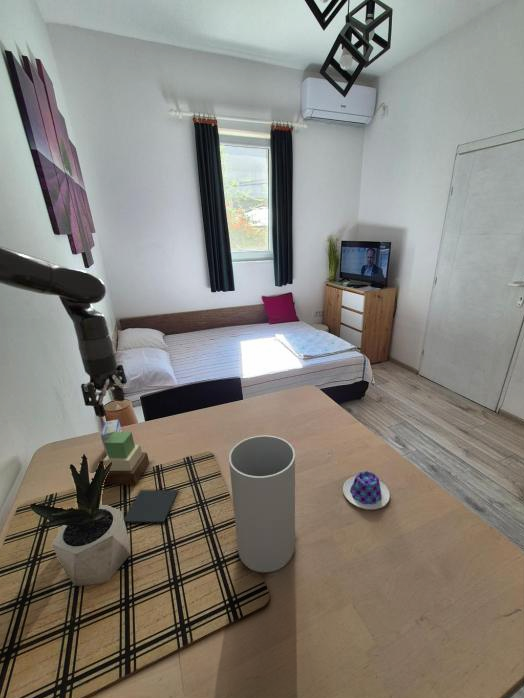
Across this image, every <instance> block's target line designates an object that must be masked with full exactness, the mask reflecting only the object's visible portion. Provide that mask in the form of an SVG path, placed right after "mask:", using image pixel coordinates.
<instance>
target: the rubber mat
mask: <svg viewBox="0 0 524 698" xmlns="http://www.w3.org/2000/svg"><path fill="white" fill-rule="evenodd" d="M178 493H179V491H178V490H154V489H153V490H152V489H151V490H150V489H149V490H146V489H145V490H142V489H140V491H139V492H138V494H137V496H136V498H135V499H134V501H133V503H131V506H130V507H129V509H128V511H127V513H126V515H125V517H124V518H123V520H125V523H127V524H128V523H129V524H131V523H132V524H165V522H166V520H167V518H168V515H169V514H170V511H171V509H172V506H173V504H174V502H175V501H176V498H177V496H178Z"/></svg>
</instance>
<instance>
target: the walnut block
mask: <svg viewBox="0 0 524 698" xmlns="http://www.w3.org/2000/svg"><path fill="white" fill-rule="evenodd" d="M148 455H149V454H148V452H147V451H146V452H145V451H144V452H143V451H142V456H141V457H140V458H139V460H138V461H137V463H136V464H135V466H134V467H133V469H132V470H131V471H109V473H108V475H107V477H106V479H105V482H104V483H103V485H104V486H105V485H111V486H112V485H117V486H118V485H119V486H123V485H125V486H136V485H137V484H138V482H139V481H140V479H141V477H142V476H143V474H144V473H145V471H146V470H147V468H148V467H149V465H150V459H149V456H148Z"/></svg>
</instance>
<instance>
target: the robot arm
mask: <svg viewBox="0 0 524 698" xmlns="http://www.w3.org/2000/svg"><path fill="white" fill-rule="evenodd" d="M0 284H2V285H5V286H8V287H12V288H14V289H15V288H16V289H19V290H24V291H28V292H32V293H36V294H42V295H46V296H47V295H49V296H57V297H58V298H59V300H60V302H61V304H62V306H63V307H64V310H65V311H66V314H67V315H68V317H69V318H70V319H71V321H72V323H73V328H74V331H75V332H74V333H75V336H76V339H77V346H78V351H79V355H80V358H81V362H82V365H83V370H84V372H85V373H86V374H87V375H88V376H89V382H87V383H81V385H80V388H81V393H82V397H83V402H84V405H85V406H86V407H93V410H94V414H95V416H97V417H99V418H105V416H106V415H107V412H106V410H105V405H104V403H103V401H104V397H105V396H106V395H107V391H109V389H110V388H113V393H114V396H115V400H116V401H117V402H124V401H125V393H124V386H125V385H126V384H127V383H128V380H127V376H126V372H125V369H124V366H123V364H118V363H117V358H116V353H115V349H114V345H113V341H112V339H111V336H110V334H109V333H110V332H109V328H108V324H107V319H106V317H105V315H104V314H103V313H102V312H100V311H98V310H96V309H95V308H94V307H93V305H94V304H98V303H99V302H101V301H103V299H104V298H105V297H106V294H107V288H106V285H105V283H104V282H103V280H102V279H101V278H100V277H98V276H97V275H95V274H93V273H91V272H88V271H85V270H81V269H76V268H72V267H69V266H62V265H59V264H55V263H54V262H53V263H52V262H50V261H47V260H46V259H45V260H44V259H42V258H39V257H35V256H33V255H30V254H27V253H24V252H20V251H17V250H14V249H11V248H8V247H4V246H1V245H0ZM97 391H98V392H97Z"/></svg>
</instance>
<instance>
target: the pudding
mask: <svg viewBox="0 0 524 698" xmlns="http://www.w3.org/2000/svg"><path fill="white" fill-rule="evenodd" d="M342 493H343V495H344V497H345V498H346V500H347V501H348V502H349V503H351V504H352V505H354V506H355V507H358V508H360V509H364V510H378V509H380V508H383V507H385V506H386V505H387V504H388V502H389V501H390V499H391V498H390V496H391V495H390V494H391V493H390V491H389V488H388V487H387V485H385V483H384V482H382V481H381V480H380V479H379V477H378V476H377V475H375V473H374V472H371V471H370V472H369V471H368V470H363V471H359V472H358V473H357V474H356V475H355V476H351V477H349V478H348V479H346V480H345V481H344V483H343V486H342Z"/></svg>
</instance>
